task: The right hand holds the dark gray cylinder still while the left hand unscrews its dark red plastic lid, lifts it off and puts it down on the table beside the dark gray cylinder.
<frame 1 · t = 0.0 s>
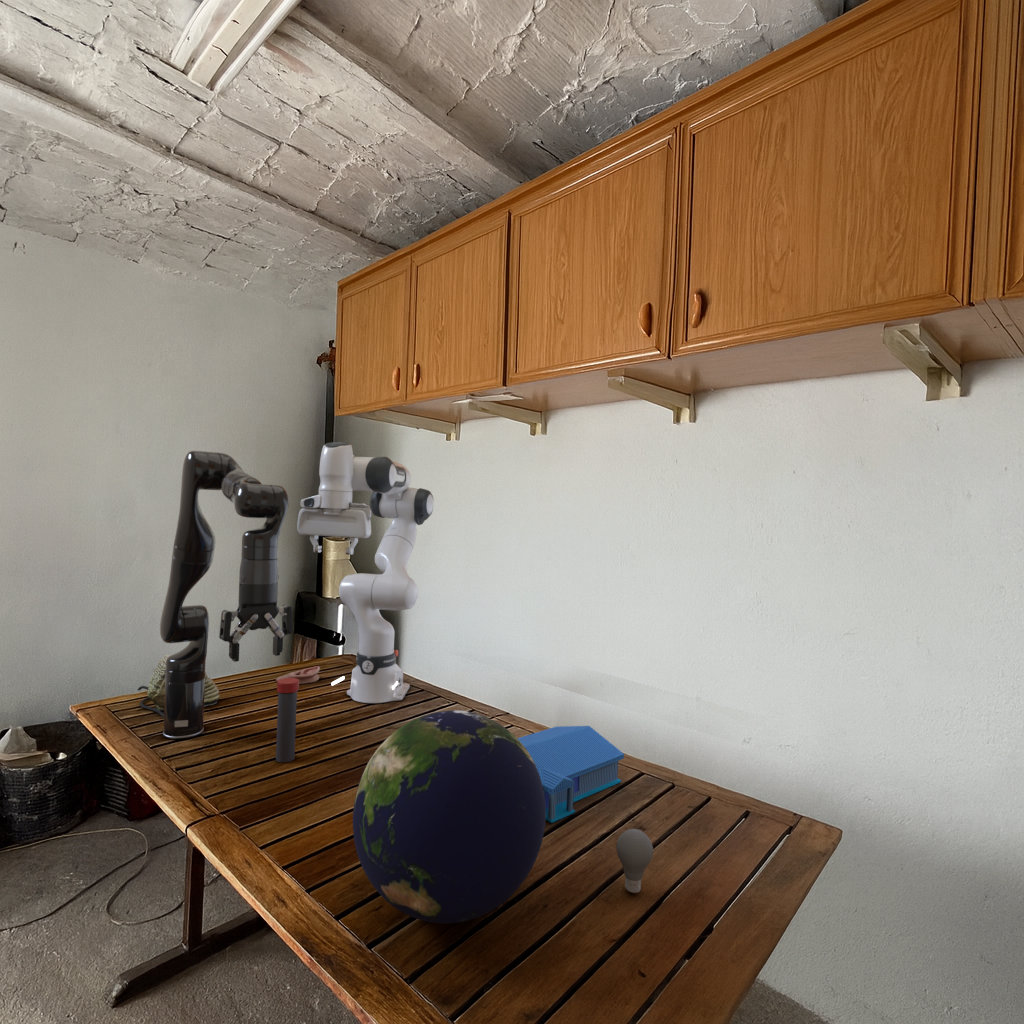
left hand: (256, 657, 132), 29 cm above the table, tool pointing down, fingers open, 8 cm apart
right hand: (333, 553, 170), 48 cm above the table, tool pointing down, fingers open, 8 cm apart
model building: (534, 791, 141), on the table
anatomical model: (297, 680, 215), on the table
light bulb: (632, 891, 106), on the table
lid: (288, 682, 152), point 19 cm above the table, screwed on, not yet turned
fossil: (183, 706, 185), on the table
dark gray cylinder: (285, 758, 152), on the table
globe: (446, 905, 100), on the table
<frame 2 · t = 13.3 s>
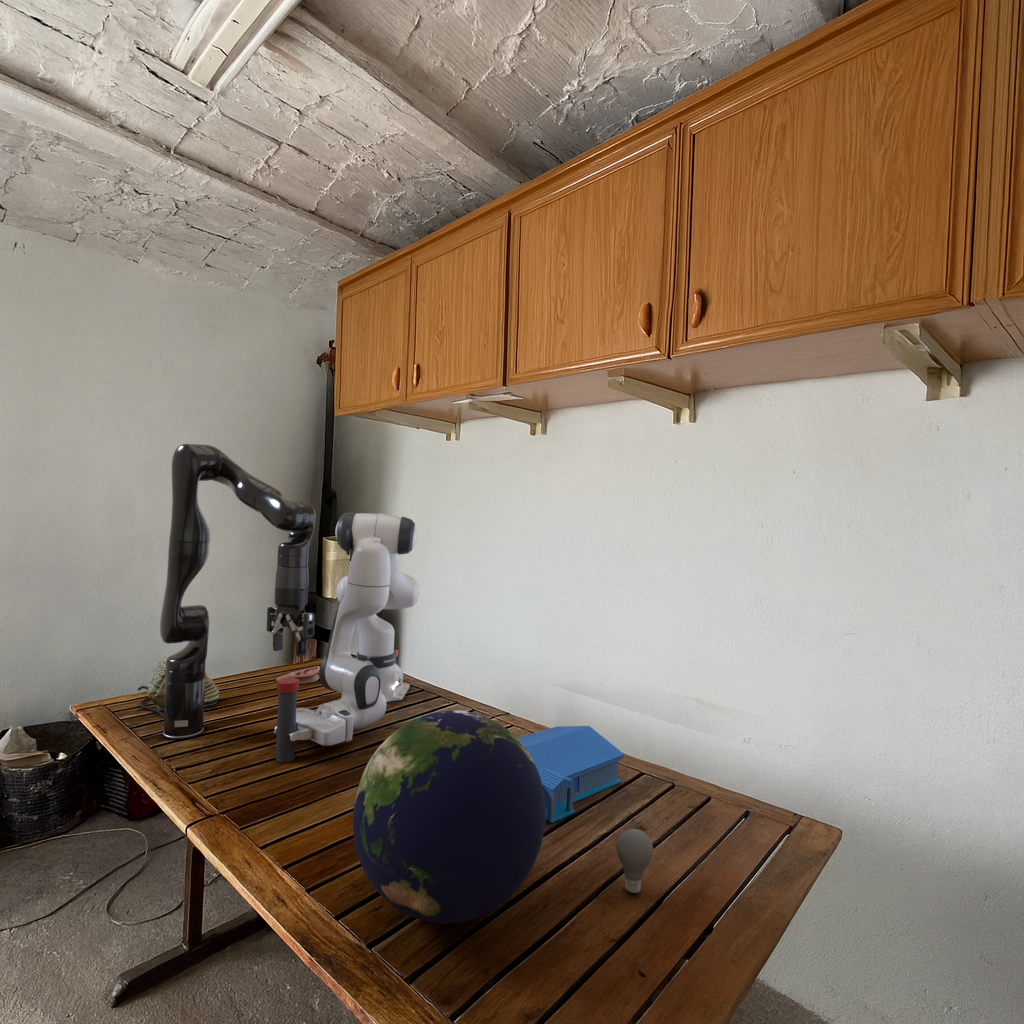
left hand: (289, 653, 151), 26 cm above the table, tool pointing down, fingers open, 7 cm apart
right hand: (282, 734, 151), 6 cm above the table, tool horizontal, fingers closed on dark gray cylinder, 4 cm apart
dark gray cylinder: (285, 758, 152), on the table, touching right hand
everything else where it was.
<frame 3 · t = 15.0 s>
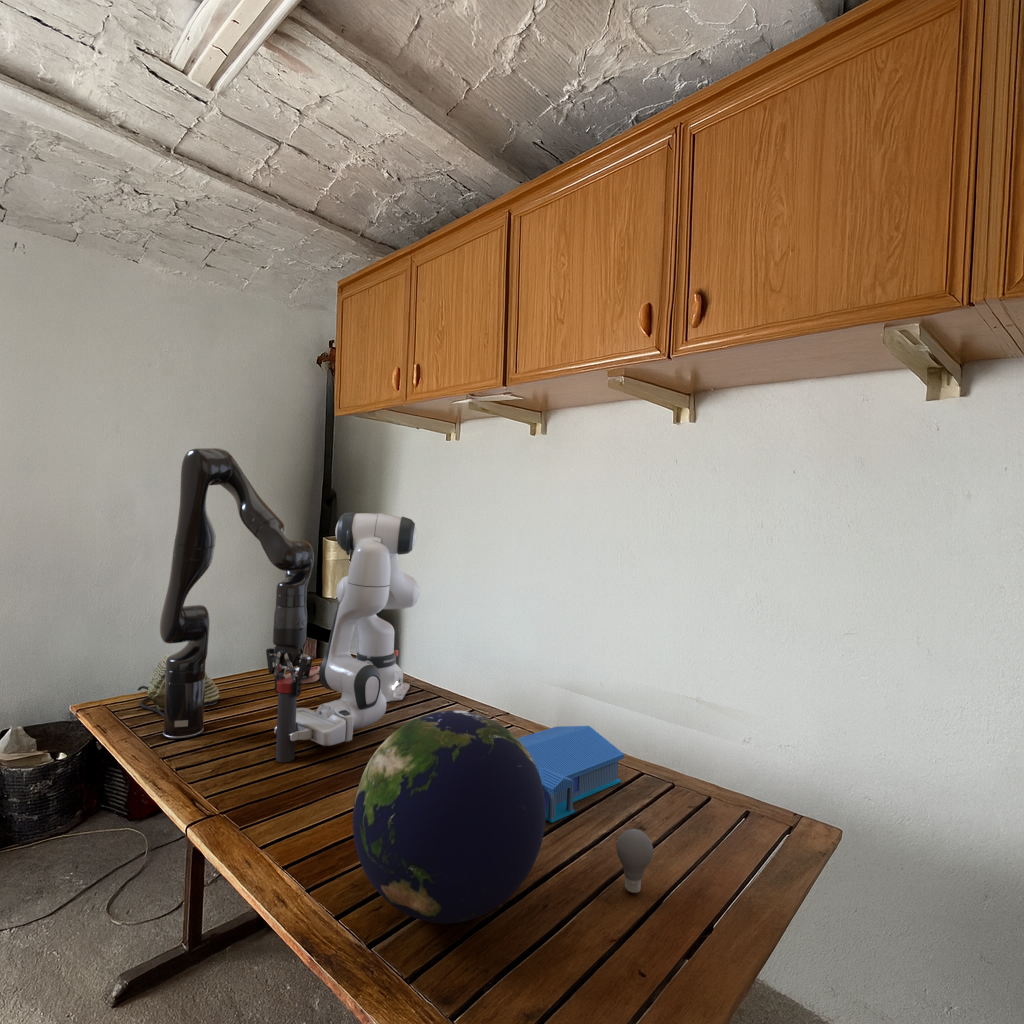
left hand: (287, 694, 152), 16 cm above the table, tool pointing down, fingers closed on lid, 5 cm apart
right hand: (282, 734, 151), 6 cm above the table, tool horizontal, fingers closed on dark gray cylinder, 4 cm apart
lid: (288, 682, 152), point 19 cm above the table, screwed on, not yet turned, touching left hand
dark gray cylinder: (285, 758, 152), on the table, touching right hand
everything else where it was.
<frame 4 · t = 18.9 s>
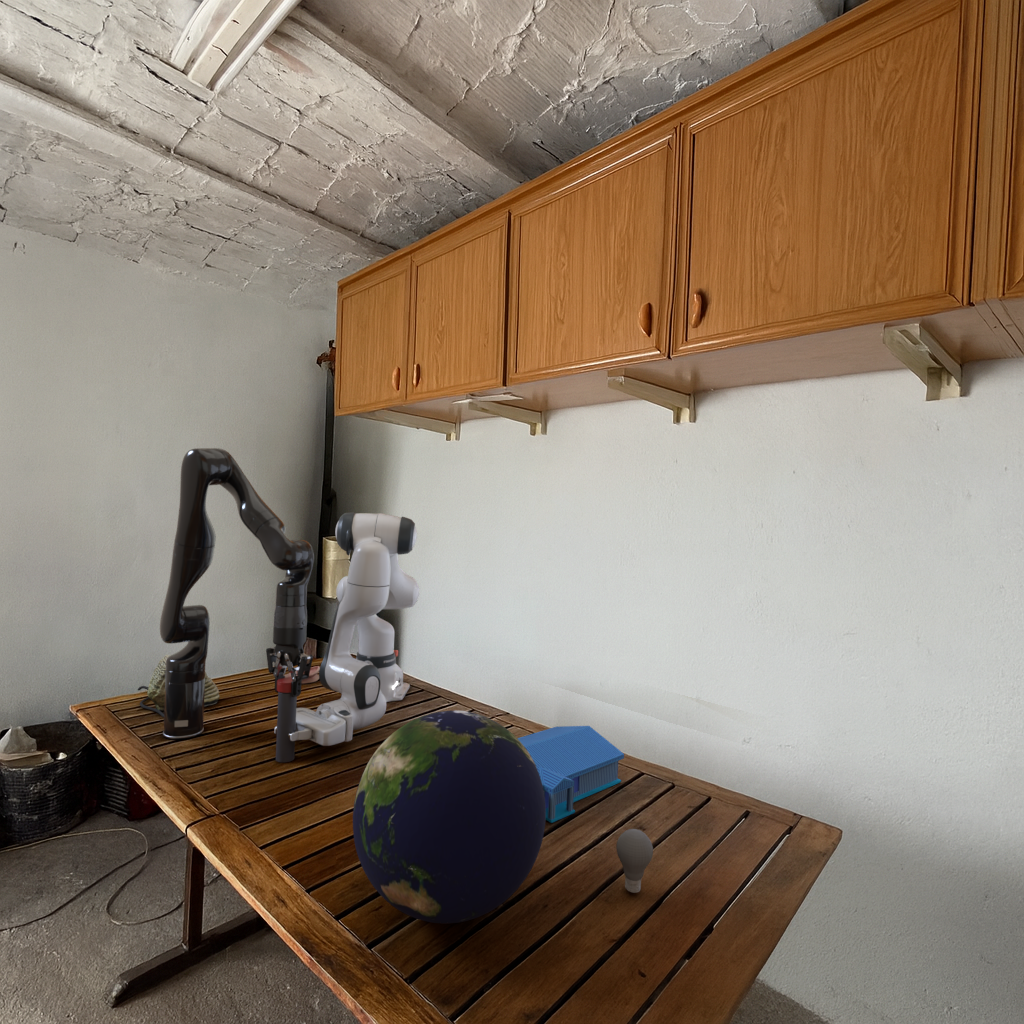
left hand: (287, 693, 152), 16 cm above the table, tool pointing down, fingers closed on lid, 5 cm apart
right hand: (282, 734, 151), 6 cm above the table, tool horizontal, fingers closed on dark gray cylinder, 4 cm apart
lid: (288, 681, 152), point 19 cm above the table, turned 89° so far, risen 0.1 cm, still on its thread, touching left hand
dark gray cylinder: (285, 758, 152), on the table, touching right hand
everything else where it was.
when the left hand's fingers open (1 cm above the table, at t = 41.6 s): lid drops 2 cm, point 2 cm above the table.
when the right hand's fingers open (6 cm above the table, at t = 42.6 s): dark gray cylinder stays where it is, on the table.
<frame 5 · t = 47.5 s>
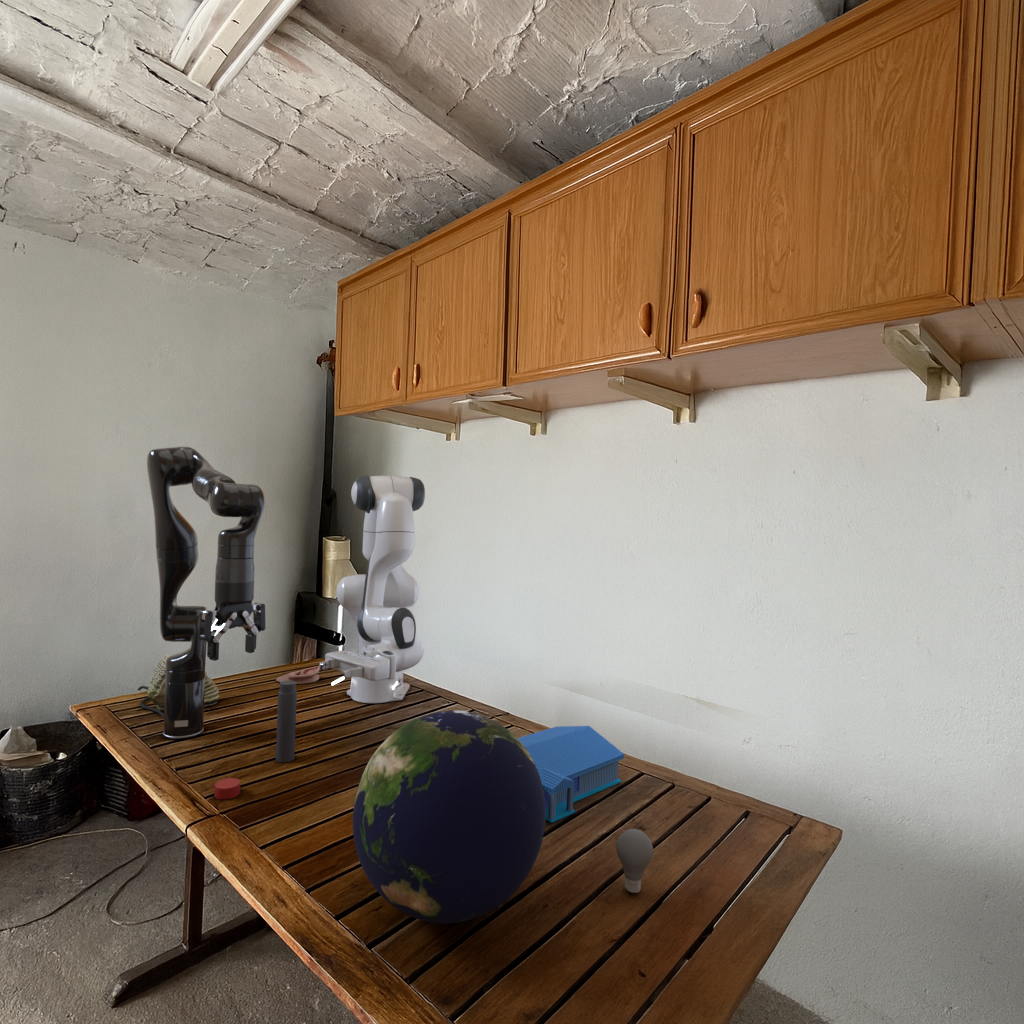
left hand: (232, 656, 133), 29 cm above the table, tool pointing down, fingers open, 8 cm apart
right hand: (332, 670, 162), 19 cm above the table, tool horizontal, fingers open, 8 cm apart
lid: (227, 784, 133), point 2 cm above the table, off its thread
dark gray cylinder: (285, 758, 152), on the table
everything else where it was.
at the end: lid came off its thread; lid point 1.9 cm above the table; the left hand is holding nothing; the right hand is holding nothing; dark gray cylinder tilted 0°; dark gray cylinder moved 0.0 cm from its start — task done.
